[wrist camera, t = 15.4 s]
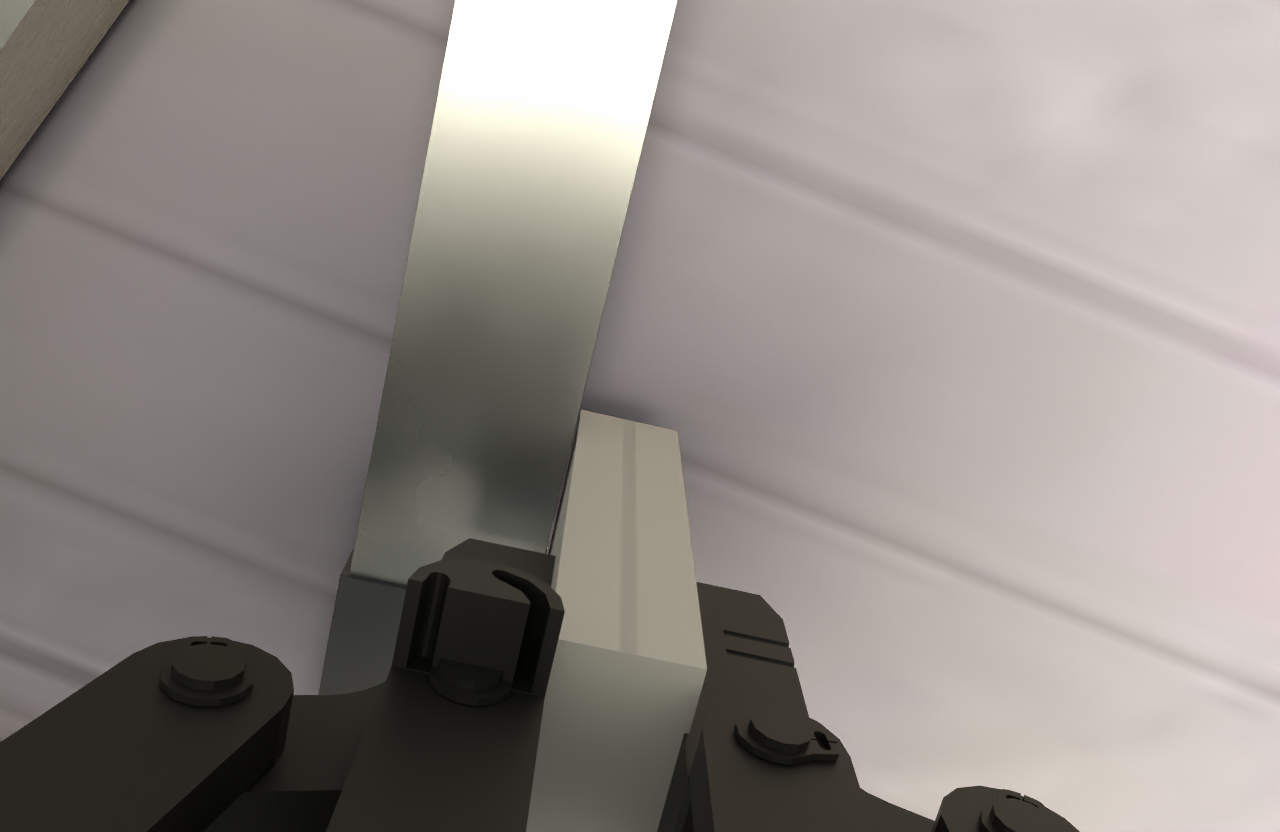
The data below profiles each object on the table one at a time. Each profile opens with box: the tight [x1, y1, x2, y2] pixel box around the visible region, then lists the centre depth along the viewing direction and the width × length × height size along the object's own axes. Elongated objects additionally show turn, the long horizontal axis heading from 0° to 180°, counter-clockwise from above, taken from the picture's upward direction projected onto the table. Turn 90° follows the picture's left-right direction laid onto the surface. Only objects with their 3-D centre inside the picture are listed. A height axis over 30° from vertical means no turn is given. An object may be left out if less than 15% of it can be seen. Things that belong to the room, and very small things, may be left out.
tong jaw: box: [319, 0, 677, 695], centre depth 15 cm, size 17×3×4 cm, turn 166°
